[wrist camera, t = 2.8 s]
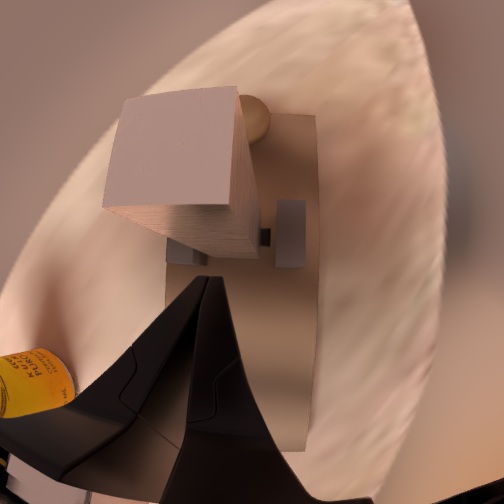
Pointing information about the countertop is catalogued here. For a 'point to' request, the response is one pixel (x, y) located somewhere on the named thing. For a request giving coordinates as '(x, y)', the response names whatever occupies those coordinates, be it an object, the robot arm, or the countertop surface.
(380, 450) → the countertop surface
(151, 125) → the lever
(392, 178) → the countertop surface
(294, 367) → the base
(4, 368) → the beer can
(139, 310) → the countertop surface
